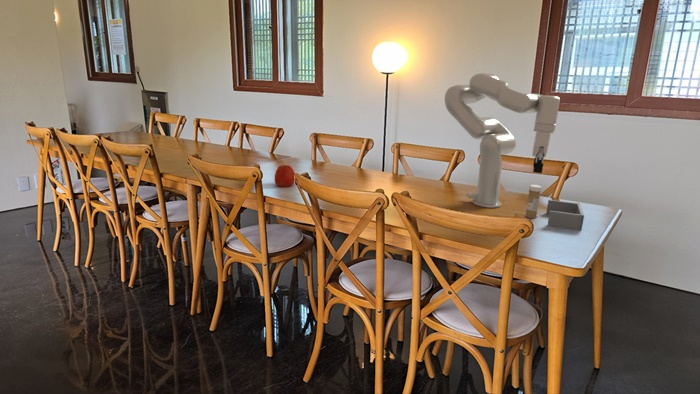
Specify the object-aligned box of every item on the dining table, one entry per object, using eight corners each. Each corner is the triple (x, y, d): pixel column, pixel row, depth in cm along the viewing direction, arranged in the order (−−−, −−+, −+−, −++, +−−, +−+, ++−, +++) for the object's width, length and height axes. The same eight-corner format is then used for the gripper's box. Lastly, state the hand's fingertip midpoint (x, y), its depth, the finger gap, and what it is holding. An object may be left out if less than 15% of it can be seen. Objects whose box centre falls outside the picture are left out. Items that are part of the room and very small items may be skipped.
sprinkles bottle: (523, 215, 186) (527, 184, 183) (533, 215, 187) (538, 184, 183) (528, 218, 182) (532, 187, 178) (538, 218, 182) (543, 187, 179)
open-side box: (547, 225, 174) (549, 211, 172) (546, 213, 190) (548, 199, 188) (581, 230, 170) (584, 215, 168) (577, 217, 186) (579, 203, 184)
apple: (292, 182, 228) (292, 162, 225) (297, 187, 219) (297, 166, 216) (272, 183, 224) (272, 163, 221) (277, 188, 215) (276, 167, 212)
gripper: (534, 124, 183) (527, 164, 188) (534, 129, 168) (527, 173, 173) (554, 126, 180) (546, 167, 185) (555, 131, 165) (547, 176, 170)
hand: (537, 170), depth 179 cm, fingers open, 9 cm apart
